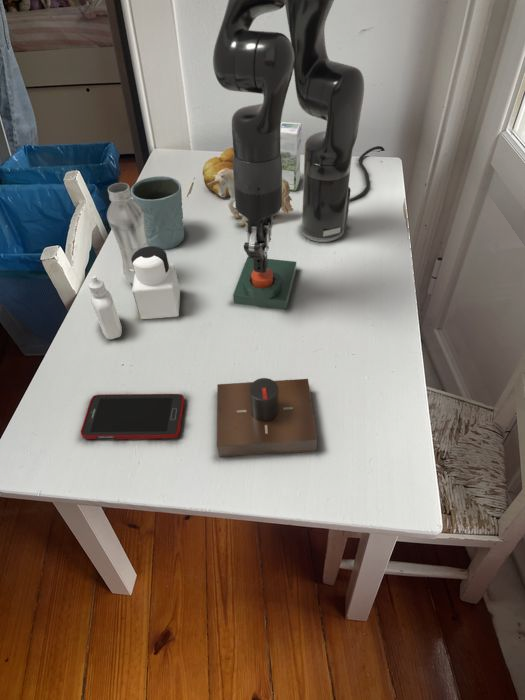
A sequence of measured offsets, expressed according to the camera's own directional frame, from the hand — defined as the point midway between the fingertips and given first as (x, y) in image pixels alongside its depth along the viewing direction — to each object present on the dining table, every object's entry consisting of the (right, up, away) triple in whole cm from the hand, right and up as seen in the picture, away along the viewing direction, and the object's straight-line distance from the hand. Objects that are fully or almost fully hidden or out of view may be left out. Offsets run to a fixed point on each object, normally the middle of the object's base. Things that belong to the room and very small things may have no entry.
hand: (260, 269), depth 88 cm
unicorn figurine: (-2, +13, +21) cm, 25 cm away
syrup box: (+6, +27, +34) cm, 43 cm away
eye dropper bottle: (-27, -11, 0) cm, 29 cm away
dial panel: (+1, -25, -15) cm, 30 cm away
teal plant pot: (-21, +10, +19) cm, 30 cm away
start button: (0, -2, +2) cm, 3 cm away
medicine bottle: (-19, -6, +4) cm, 20 cm away
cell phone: (-19, -25, -14) cm, 35 cm away
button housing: (+1, -2, +7) cm, 7 cm away
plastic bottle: (-24, -1, +9) cm, 25 cm away
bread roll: (-10, +26, +34) cm, 44 cm away
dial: (+1, -23, -17) cm, 29 cm away
